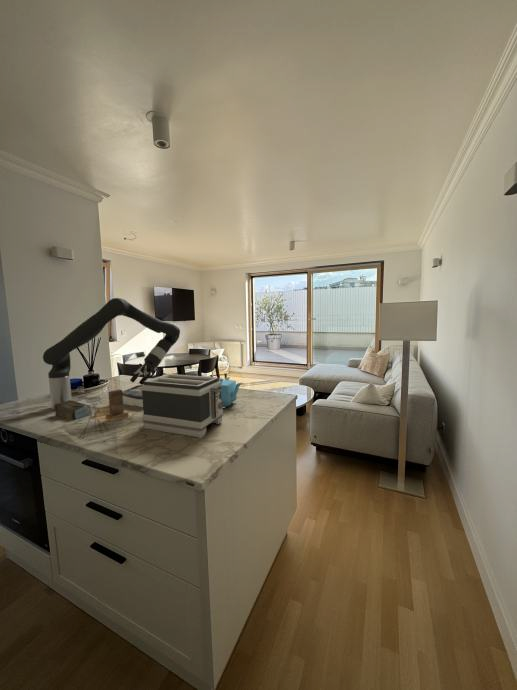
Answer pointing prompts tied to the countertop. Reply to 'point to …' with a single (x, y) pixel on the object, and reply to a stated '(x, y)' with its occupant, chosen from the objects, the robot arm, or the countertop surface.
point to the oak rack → (108, 415)
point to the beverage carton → (72, 410)
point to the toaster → (181, 404)
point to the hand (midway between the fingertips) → (136, 382)
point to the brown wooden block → (116, 402)
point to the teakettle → (228, 391)
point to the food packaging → (133, 396)
